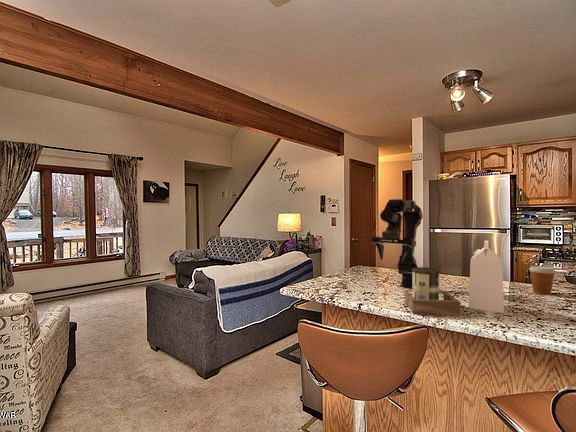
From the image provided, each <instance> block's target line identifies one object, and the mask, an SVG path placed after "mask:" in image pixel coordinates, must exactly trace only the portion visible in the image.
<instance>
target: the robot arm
mask: <svg viewBox="0 0 576 432" xmlns="http://www.w3.org/2000/svg"><path fill="white" fill-rule="evenodd" d="M409 209H411V210H409ZM401 213H402V214H401ZM379 216H380V217H379V218H380V220H381V221H382V222H385V223H386V224H387V227H386V229H385V230H384V231H382V232H381V236H372V237H371V238H370V243H372V244H373V245H375V246H376V248H377V251H378V255H379V259H380V260H383V258H384V250H385V245H384V244H398V245H400V244H401V249H402V250H401V254H400V255H399V260H398V262H397V270H398V275H401V284H399V285H398V286H400V287H404V288H407V289H412V268H417V267H418V264H417V260H416V258H415V255H414V254H415V247H416V246H417V241H416V238H417V237H416V235H417V229H418V227H419V226H420V225H421V224H422V220H423V218H424V217H423V212H422V208H421V207H419V205H417V204H416V201H415V200H405V199H403V198H396V199H395V198H394V199H393V198H392V199H391V198H390V199H388V201H387V202H386V205H385V207H384V209H383V210H381V213H380V215H379ZM403 218H404V223H405V224H406V232H405V233H406V235H405V237H404V238H403V239H402V238H401V232H402V222H403V221H402V220H403Z"/></svg>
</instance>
